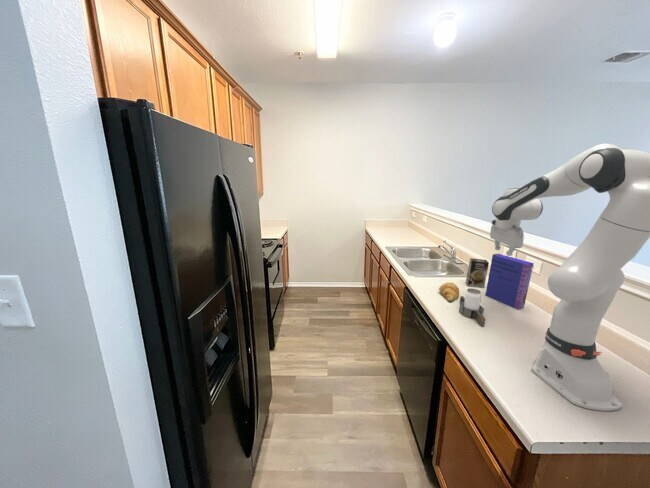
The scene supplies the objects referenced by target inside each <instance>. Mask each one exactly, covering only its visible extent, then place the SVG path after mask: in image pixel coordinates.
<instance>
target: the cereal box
mask: <svg viewBox="0 0 650 488" xmlns="http://www.w3.org/2000/svg"><path fill="white" fill-rule="evenodd" d="M533 269H534V263H533V262H530V261H526V260H523V259H519V258H515V257H512V256H508V255H504V254H501V253H494V254H492V257H491V262H490V269H489V272H488V279H487V283H486V290H485V295H484V296H485V297H487V298H490V299H492V300H494V301H497V302H499V303H501V304H503V305H506V306H508V307H511V308H513V309H516V310H517V311H518V310H521V309H525V304H526V300H527V294H528V291H529V288H530V287H529V286H530V282H531V277H532V272H533Z"/></svg>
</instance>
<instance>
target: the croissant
mask: <svg viewBox="0 0 650 488" xmlns="http://www.w3.org/2000/svg"><path fill="white" fill-rule="evenodd" d="M438 289H439V290H438V291H439V292H440V294H441V295H442V296H443V297H444V298H445V299H446V300H447V301H448V302H452V301H456V300H457V299H458V298H460V290H459V287H458V286H457V284H455V283H453V282H446V283H443V284H442V285H440V286H439V288H438Z"/></svg>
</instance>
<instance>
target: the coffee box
mask: <svg viewBox="0 0 650 488" xmlns="http://www.w3.org/2000/svg"><path fill="white" fill-rule="evenodd" d="M489 264H490V262H489V261H488V260H487V259H482V258H481V259H480V258H471V257H470V258H469V263H468V266H467V267H468V268H467V275H466V279H465V280H466V281H465V284H466V286H467V287H470V288H471V287H472V288H478V289H479V288H480V289H485V285H486V281H487V276H488V275H487V274H488V270H489Z"/></svg>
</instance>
